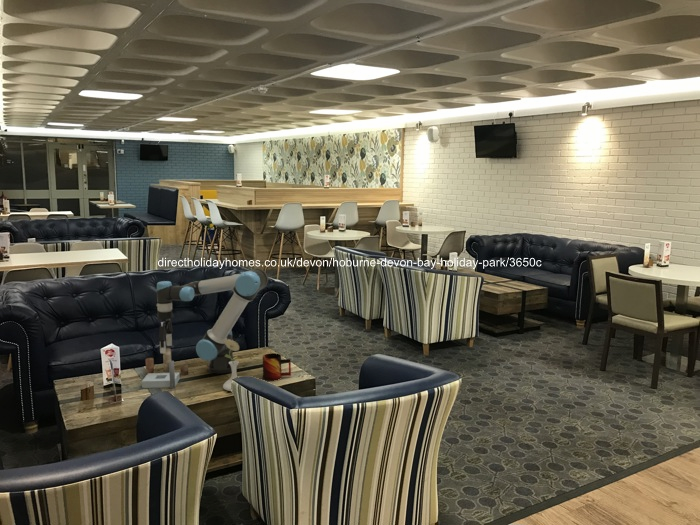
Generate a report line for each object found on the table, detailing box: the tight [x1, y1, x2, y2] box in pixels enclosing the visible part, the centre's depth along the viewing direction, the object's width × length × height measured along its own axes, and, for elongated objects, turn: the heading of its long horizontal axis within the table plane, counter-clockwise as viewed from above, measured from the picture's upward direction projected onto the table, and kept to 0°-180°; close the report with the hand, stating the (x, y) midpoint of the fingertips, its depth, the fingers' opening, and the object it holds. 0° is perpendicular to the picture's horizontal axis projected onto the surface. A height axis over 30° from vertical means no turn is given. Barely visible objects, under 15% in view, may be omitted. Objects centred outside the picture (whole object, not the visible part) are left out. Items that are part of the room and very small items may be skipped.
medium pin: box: [145, 357, 155, 376], centre depth 298 cm, size 4×4×9 cm
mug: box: [262, 352, 292, 382], centre depth 295 cm, size 10×14×12 cm
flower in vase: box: [222, 339, 240, 392], centre depth 277 cm, size 13×11×25 cm
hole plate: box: [141, 360, 181, 390], centre depth 284 cm, size 17×15×14 cm
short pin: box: [179, 363, 189, 377], centre depth 299 cm, size 4×4×5 cm
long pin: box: [162, 347, 172, 373], centre depth 299 cm, size 4×4×14 cm
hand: (166, 349), depth 298 cm, fingers open, 13 cm apart
